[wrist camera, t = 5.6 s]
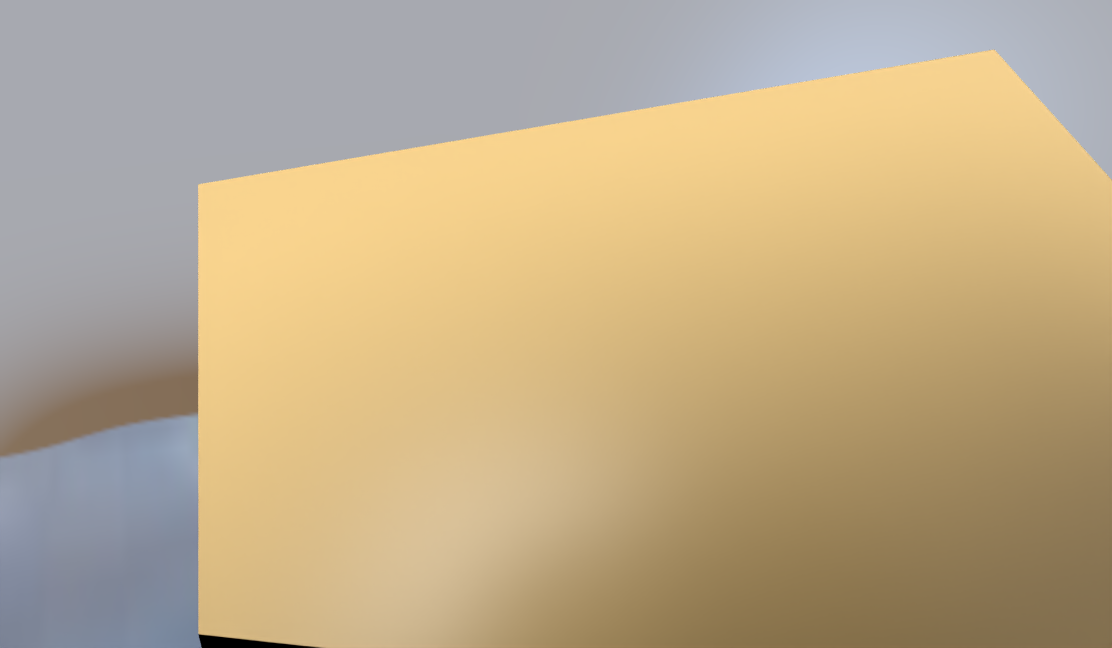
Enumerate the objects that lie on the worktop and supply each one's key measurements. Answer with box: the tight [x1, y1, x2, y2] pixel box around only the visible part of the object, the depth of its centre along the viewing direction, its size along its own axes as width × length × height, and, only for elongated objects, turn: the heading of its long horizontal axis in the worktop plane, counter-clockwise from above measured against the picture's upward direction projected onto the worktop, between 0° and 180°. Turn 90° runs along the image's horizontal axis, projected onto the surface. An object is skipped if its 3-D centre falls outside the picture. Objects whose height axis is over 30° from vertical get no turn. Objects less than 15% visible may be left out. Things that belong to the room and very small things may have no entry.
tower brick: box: [198, 50, 1112, 648], centre depth 8 cm, size 5×5×13 cm
